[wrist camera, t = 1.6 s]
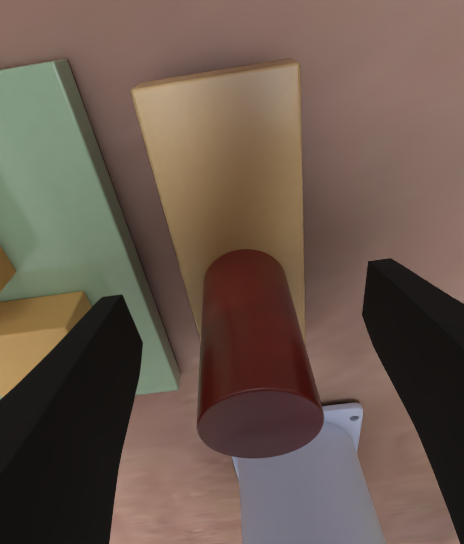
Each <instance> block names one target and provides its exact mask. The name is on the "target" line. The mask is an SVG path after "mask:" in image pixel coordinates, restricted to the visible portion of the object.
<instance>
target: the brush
mask: <svg viewBox="0 0 464 544" xmlns="http://www.w3.org/2000/svg"><path fill="white" fill-rule="evenodd" d="M131 96H132V100H133V103H134V107H135V110H136V114H137V117H138V121H139V125H140V128H141V132H142V135H143V139H144V142H145V146H146V149H147V153H148V157H149V160H150V164H151V167H152V171H153V174H154V178H155V181H156V185H157V189H158V192H159V196H160V199H161V203H162V206H163V210H164V213H165V217H166V221H167V224H168V228H169V231H170V235H171V238H172V242H173V245H174V249H175V253H176V256H177V260H178V263H179V267H180V270H181V274H182V277H183V281H184V285H185V288H186V292H187V295H188V299H189V302H190V306H191V309H192V313H193V317H194V320H195V324H196V327H197V331H198V334H199V338H200V341H201V346H200V367H199V388H198V410H197V431H198V434H199V436H200V438H201V440H202V441H203V442H204V443H205V444H206V445H207V446H208V447H210V448H211V449H213V450H215V451H217V452H219V453H222V454H225V455H228V456H233V457H238V458H250V459H257V458H269V457H275V456H280V455H284V454H287V453H290V452H293V451H295V450H298V449H300V448H302V447H303V446H305V445H307V444H308V443H310V442H311V441H312V440H313V439H314V438H316V436H317V435H318V434H319V433H320V431H321V429H322V427H323V423H324V413H323V409H322V405H321V402H320V398H319V395H318V391H317V387H316V384H315V380H314V376H313V373H312V369H311V366H310V362H309V358H308V355H307V351H306V338H305V284H304V231H303V178H302V124H301V71H300V64H299V62H297V61H295V60H293V59H290V58H288V59H282V60H276V61H269V62H263V63H257V64H251V65H245V66H239V67H233V68H227V69H221V70H215V71H209V72H203V73H197V74H191V75H185V76H179V77H173V78H167V79H161V80H155V81H148V82H142V83H139V84H138V85H137V86H135V87H134V88H133V89H132V90H131Z"/></svg>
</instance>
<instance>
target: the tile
mask: <svg viewBox="0 0 464 544" xmlns="http://www.w3.org/2000/svg"><path fill="white" fill-rule="evenodd" d="M0 246H1V248H2V249H3V251H4V252H5V254H6V256H7V257H8V259H9V260H10V262H11V264H12V265H13V267H14V268H15V270H16V273H15V274H14V276H13V277H12V278H11V279H10V281H9V282H8V283H7V284H6V286H5V287H4V288H3V289H2V291H1V292H0V302H5V301H12V300H20V299H27V298H34V297H42V296H49V295H57V294H64V293H71V292H79V291H83V292H84V293H85V295H86V297H87V299H88V301H89V303H90V305H91V307H92V306H93V305H94V304H95V303H96V302H97V301H98V300H99V299H100V298H101V297H106V296H113V295H120V294H122V295H123V297H124V299H125V302H126V304H127V306H128V309H129V311H130V313H131V316H132V318H133V320H134V323H135V325H136V327H137V330H138V332H139V334H140V337H141V339H142V342H143V349H142V360H141V369H140V376H139V381H138V385H137V390H136V394H135V395H142V394H150V393H158V392H167V391H175V390H179V384H180V371H179V368H178V366H177V363H176V360H175V357H174V355H173V352H172V349H171V346H170V343H169V341H168V338H167V335H166V332H165V330H164V327H163V324H162V321H161V318H160V316H159V313H158V310H157V307H156V305H155V302H154V299H153V296H152V293H151V291H150V288H149V285H148V282H147V280H146V277H145V274H144V271H143V269H142V266H141V263H140V260H139V257H138V255H137V252H136V249H135V246H134V244H133V241H132V238H131V235H130V232H129V230H128V227H127V224H126V221H125V219H124V216H123V213H122V210H121V207H120V205H119V202H118V199H117V196H116V194H115V191H114V188H113V185H112V182H111V180H110V177H109V174H108V171H107V169H106V166H105V163H104V160H103V158H102V155H101V152H100V149H99V146H98V144H97V141H96V138H95V135H94V133H93V130H92V127H91V124H90V121H89V119H88V116H87V113H86V110H85V108H84V105H83V102H82V99H81V96H80V94H79V91H78V88H77V85H76V83H75V80H74V77H73V74H72V71H71V69H70V66H69V63H68V60H67V59H66V58H62V59H56V60H50V61H44V62H39V63H33V64H27V65H21V66H15V67H9V68H4V69H0ZM1 398H2V397H1V396H0V399H1Z"/></svg>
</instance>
